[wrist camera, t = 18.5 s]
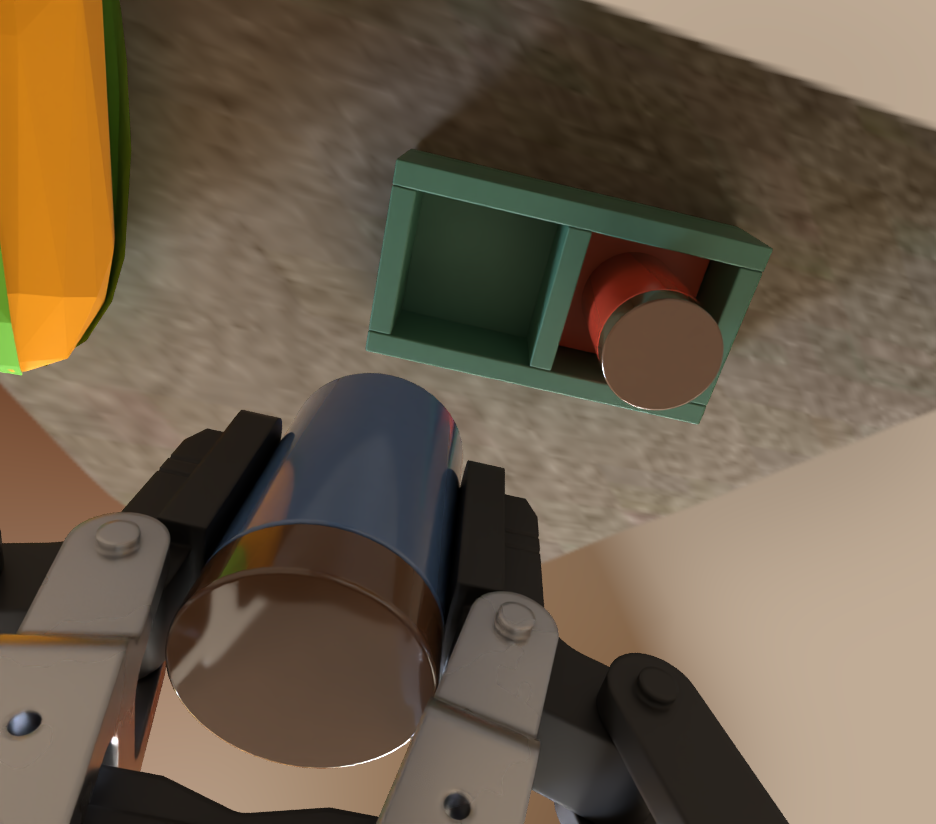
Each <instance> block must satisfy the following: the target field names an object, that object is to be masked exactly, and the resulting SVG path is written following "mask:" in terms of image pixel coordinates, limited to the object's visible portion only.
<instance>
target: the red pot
mask: <svg viewBox="0 0 936 824" xmlns="http://www.w3.org/2000/svg"><path fill="white" fill-rule="evenodd" d="M581 306H582V313H583V316H584V319H585V322H586V325H587V328H588V331H589V333H590V336H591V339H592V342H593V345H594V348H595V351H596V354H597V357H598V360H599V363H600V366H601V369H602V372H603V375H604V377H605V380H606V382H607V384H608V386H609V387H610V389H611V390H612V391H613V392H614V393H615V394H616V396H618V397H619V398H620V399H621V400H623V401H624V402H626V403H628V404H630V405H632V406H634V407H637V408H641V409H646V410H657V411H658V410H668V409H673V408H676V407H679V406H682V405H684V404H687V403H689V402H690V401H692V400H694V399H695V398H697V397H698V396H699V395H701V394H702V393H703V392H704V391H705V390H706V389H707V388H708V387H709V386H710V384H711V383H712V382H713V380H714V379H715V377H716V375H717V373H718V371H719V369H720V366H721V363H722V359H723V352H724V345H723V338H722V334H721V331H720V329H719V326H718V325H717V323H716V321H715V320H714V319H713V317H712V316H711V315H710V314H709V313H708V312H707V310H706V309H705V308H704V307H703V306H702V305H701V304H700V302H699V301H698V300H697V299H696V298H695V297H694V296H693V295H692V293H691V292H690V291H689V290H688V289H687V288H686V287H685V286H684V284H683V283H682V282H681V281H680V280H679V279H678V278H677V276H676V275H675V274H674V273H673V272H672V271H671V270H670V269H669V267H668V266H667V265H666V264H665V263H664V262H662V261H661V260H660V259H658V258H656V257H654V256H652V255H649V254H646V253H641V252H627V253H622V254H618V255H615V256H613V257H611V258H609V259H607V260H605V261H604V262H602V263H601V264H600V265H599V266H598V267H597V268H596V269H595V270H594V271H593V272H592V273H591V275H590V276H589V278H588V279H587V281H586V283H585V286H584V289H583V292H582V299H581Z"/></svg>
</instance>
